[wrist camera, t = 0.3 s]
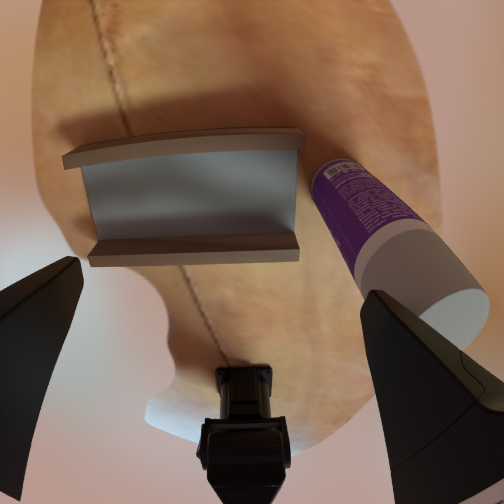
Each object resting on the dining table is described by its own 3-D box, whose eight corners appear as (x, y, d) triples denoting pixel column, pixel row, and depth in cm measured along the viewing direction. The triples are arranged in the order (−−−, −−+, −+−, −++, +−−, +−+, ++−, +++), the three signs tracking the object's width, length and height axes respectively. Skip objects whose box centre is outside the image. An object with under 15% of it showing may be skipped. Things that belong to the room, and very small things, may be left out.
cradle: (292, 240, 24) (298, 261, 22) (104, 247, 24) (90, 267, 21) (296, 127, 19) (305, 134, 17) (81, 145, 19) (61, 156, 17)
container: (300, 203, 22) (366, 370, 10) (326, 147, 20) (448, 270, 8) (351, 223, 23) (440, 376, 11) (378, 172, 21) (508, 298, 8)
